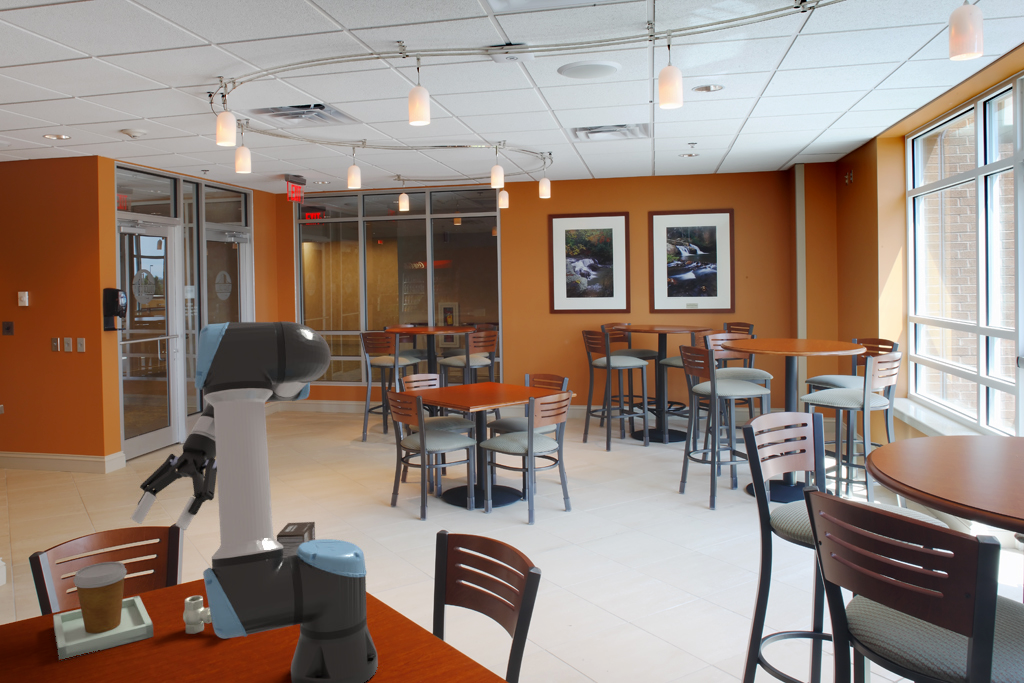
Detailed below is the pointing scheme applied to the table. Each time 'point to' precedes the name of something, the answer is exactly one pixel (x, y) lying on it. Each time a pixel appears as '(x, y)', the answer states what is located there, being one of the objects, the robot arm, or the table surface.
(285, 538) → the coffee box
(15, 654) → the table surface
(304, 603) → the robot arm
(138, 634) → the tray
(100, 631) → the disposable coffee cup
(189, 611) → the valve
